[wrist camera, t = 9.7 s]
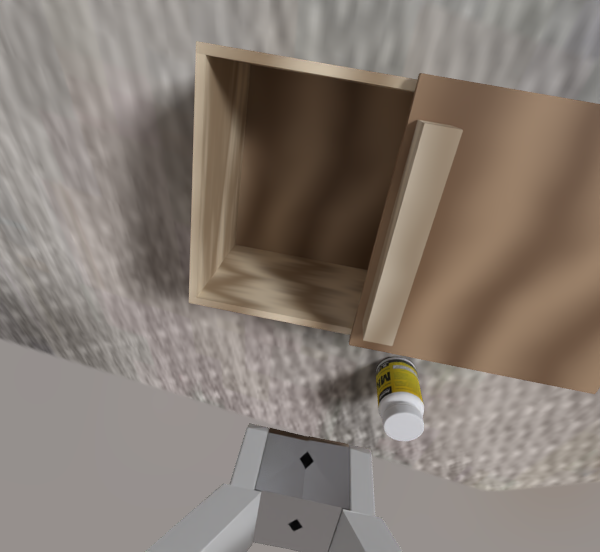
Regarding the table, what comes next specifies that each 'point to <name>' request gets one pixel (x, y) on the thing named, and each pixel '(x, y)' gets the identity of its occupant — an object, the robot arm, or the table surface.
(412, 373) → the supplement bottle
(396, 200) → the lid
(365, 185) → the box
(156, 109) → the table surface
